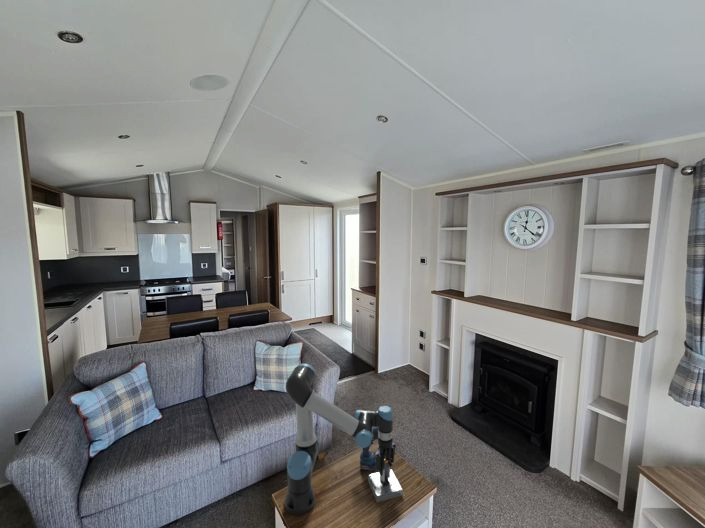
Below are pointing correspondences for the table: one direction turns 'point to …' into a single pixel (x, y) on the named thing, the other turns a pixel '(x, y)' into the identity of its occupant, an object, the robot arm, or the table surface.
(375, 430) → the impact wrench
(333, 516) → the table surface
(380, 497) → the socket block
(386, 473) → the flashlight
